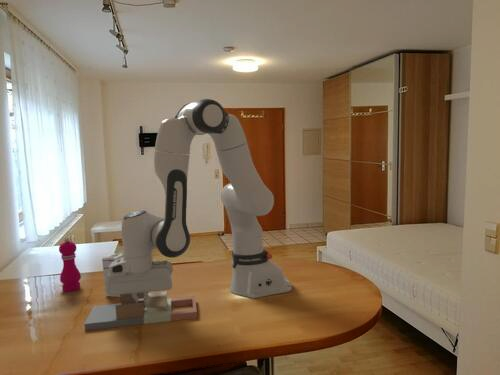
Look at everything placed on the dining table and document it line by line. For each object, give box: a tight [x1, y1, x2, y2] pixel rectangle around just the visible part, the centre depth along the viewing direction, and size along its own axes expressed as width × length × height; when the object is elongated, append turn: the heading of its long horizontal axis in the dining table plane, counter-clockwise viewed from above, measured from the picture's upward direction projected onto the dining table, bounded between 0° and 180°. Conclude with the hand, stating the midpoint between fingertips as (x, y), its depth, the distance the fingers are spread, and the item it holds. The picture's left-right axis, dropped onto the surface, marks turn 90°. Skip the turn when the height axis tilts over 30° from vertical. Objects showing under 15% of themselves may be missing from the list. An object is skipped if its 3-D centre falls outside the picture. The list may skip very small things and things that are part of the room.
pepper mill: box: [58, 237, 82, 293], centre depth 151 cm, size 7×7×20 cm
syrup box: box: [101, 252, 123, 298], centre depth 145 cm, size 6×6×14 cm
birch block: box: [146, 290, 168, 313], centre depth 127 cm, size 6×6×4 cm
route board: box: [84, 292, 198, 331], centre depth 127 cm, size 33×13×6 cm, turn 100°
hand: (141, 305), depth 127 cm, fingers closed
